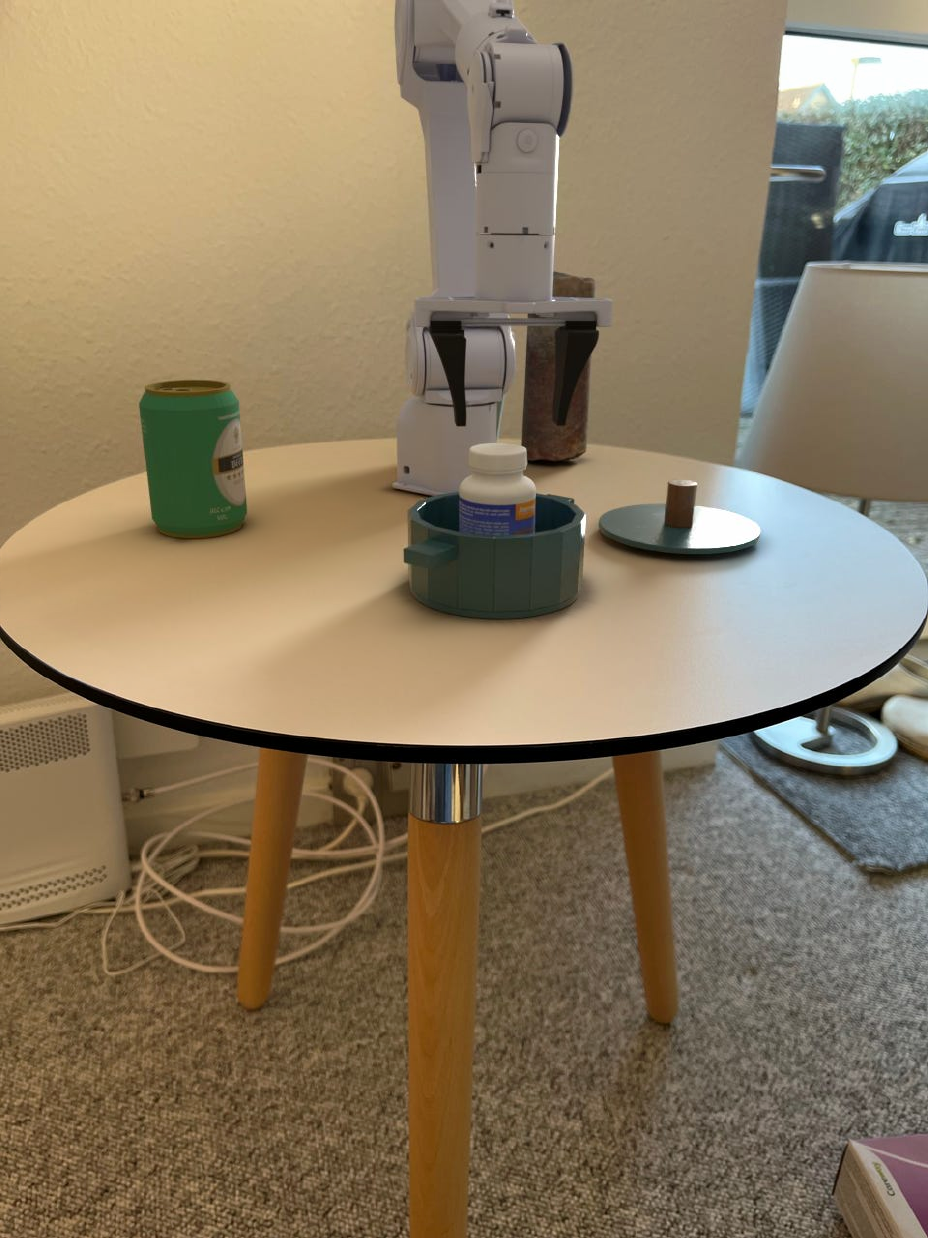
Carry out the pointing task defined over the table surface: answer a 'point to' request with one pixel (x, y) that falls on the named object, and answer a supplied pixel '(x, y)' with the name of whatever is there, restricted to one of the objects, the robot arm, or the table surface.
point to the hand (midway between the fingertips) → (509, 423)
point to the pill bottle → (497, 492)
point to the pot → (495, 561)
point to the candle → (539, 386)
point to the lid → (679, 525)
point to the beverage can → (193, 457)
